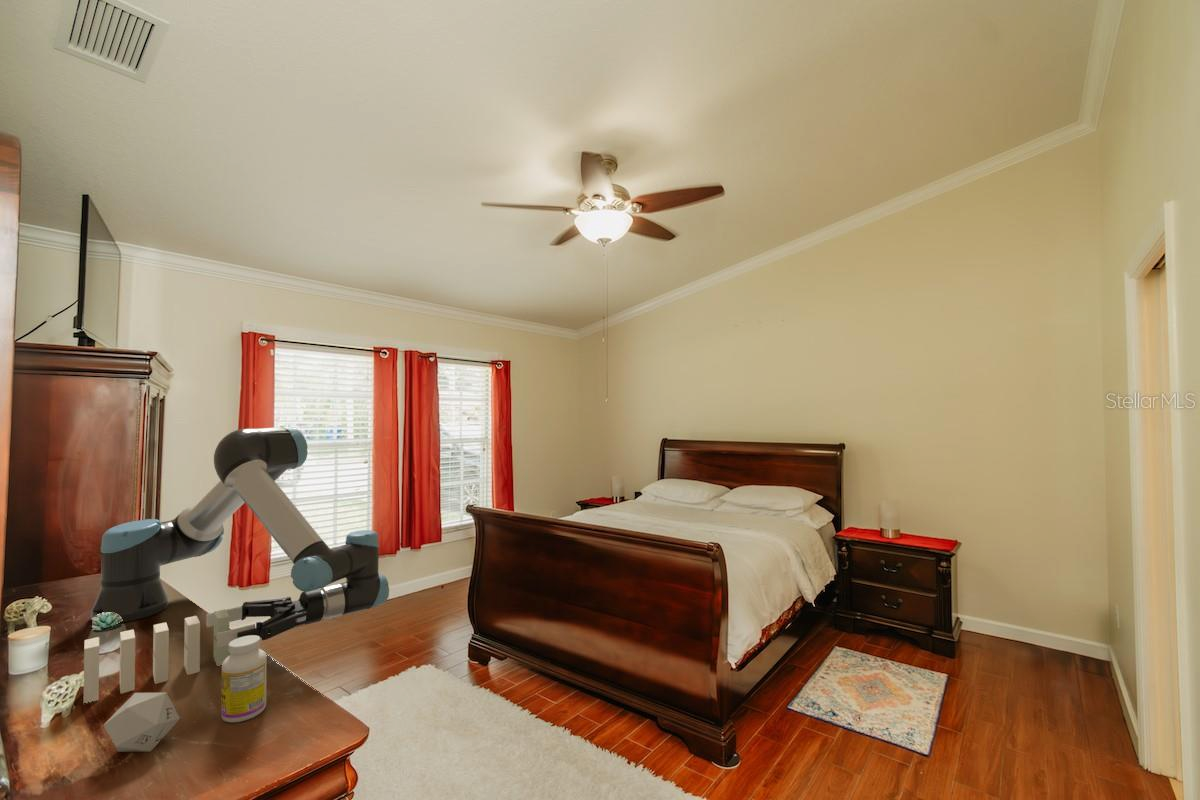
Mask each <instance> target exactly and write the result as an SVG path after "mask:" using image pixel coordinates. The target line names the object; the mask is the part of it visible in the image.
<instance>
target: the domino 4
mask: <svg viewBox="0 0 1200 800" xmlns="http://www.w3.org/2000/svg"><path fill="white" fill-rule="evenodd" d="M226 610H227V609H221V610H216V611H213V613H214V626H213V661H214V662H216V663H215V664H216V667H217V666H219V667H221V666H220V665H222V663H223V661H224V660H225V659H226V658H227V657H228V656H230V653H229V651H228V648H229V645H226V646H222V647H218V648H217V633H219V632H223V631H228V630H230V622H229V615H228V613H227V611H226Z"/></svg>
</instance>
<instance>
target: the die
mask: <svg viewBox="0 0 1200 800" xmlns="http://www.w3.org/2000/svg"><path fill="white" fill-rule="evenodd" d="M180 719H181V717H180V716H179V714H178V711H177V710H176V708H175V706H174V704H173V702H172V701H171V698H170V697H169V695H168V693H167V692H134V693H133V694H132V695H131V697H129V698H128V699H127V701H125V702H124V703H123V704H122V706H120V707H119V709H117V710H116V711H115V713H113V714H112V716H111V717H109V719H107V721H106V722H105V723H104V724H103V725H102V726H103V727H104V728H105V731H106V732H107V735H108V737H109V738H110V740H111V741H112V744H113V745H114V747H115V749H116V750H117V752H118V753H120V752H122V753H123V752H124V753H126V752H127V753H128V752H129V753H130V752H131V753H134V752H135V753H136V752H146V753H147V752H152V751H153V749H154V748H156V746H157V745H158V744H159V743H160V742H161V740H162V739H164V737H165V736H166V735H167V734H168V732H170V730H171V729H172V728H173V727H174V726H175V725H176V724H177V723H178V721H179V720H180Z"/></svg>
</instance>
